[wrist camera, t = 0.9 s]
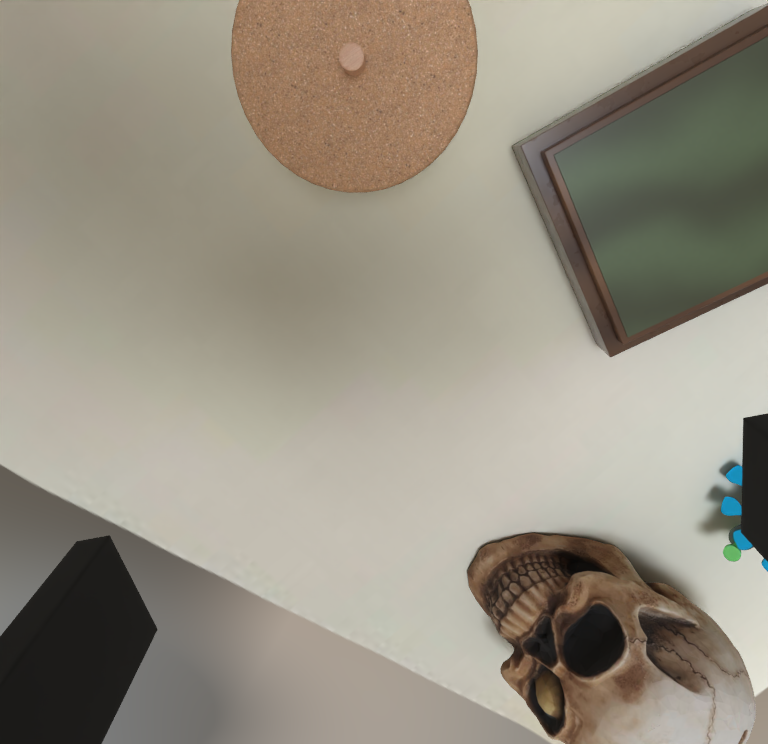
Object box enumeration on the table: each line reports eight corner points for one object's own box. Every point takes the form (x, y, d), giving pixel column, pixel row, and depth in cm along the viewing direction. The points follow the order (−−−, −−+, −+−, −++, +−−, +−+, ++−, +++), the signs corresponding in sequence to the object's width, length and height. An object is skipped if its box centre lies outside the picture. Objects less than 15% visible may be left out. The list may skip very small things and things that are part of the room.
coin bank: (459, 545, 42) (514, 709, 30) (675, 491, 42) (818, 633, 30) (489, 680, 48) (544, 862, 36) (677, 633, 49) (796, 798, 36)
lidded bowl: (491, 117, 31) (530, 104, 23) (336, 218, 34) (316, 242, 25) (394, -78, 28) (395, -182, 19) (229, 49, 30) (163, 6, 21)
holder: (511, 146, 32) (524, 145, 29) (752, 9, 29) (794, -8, 26) (597, 345, 36) (615, 362, 33) (813, 242, 34) (855, 251, 31)
